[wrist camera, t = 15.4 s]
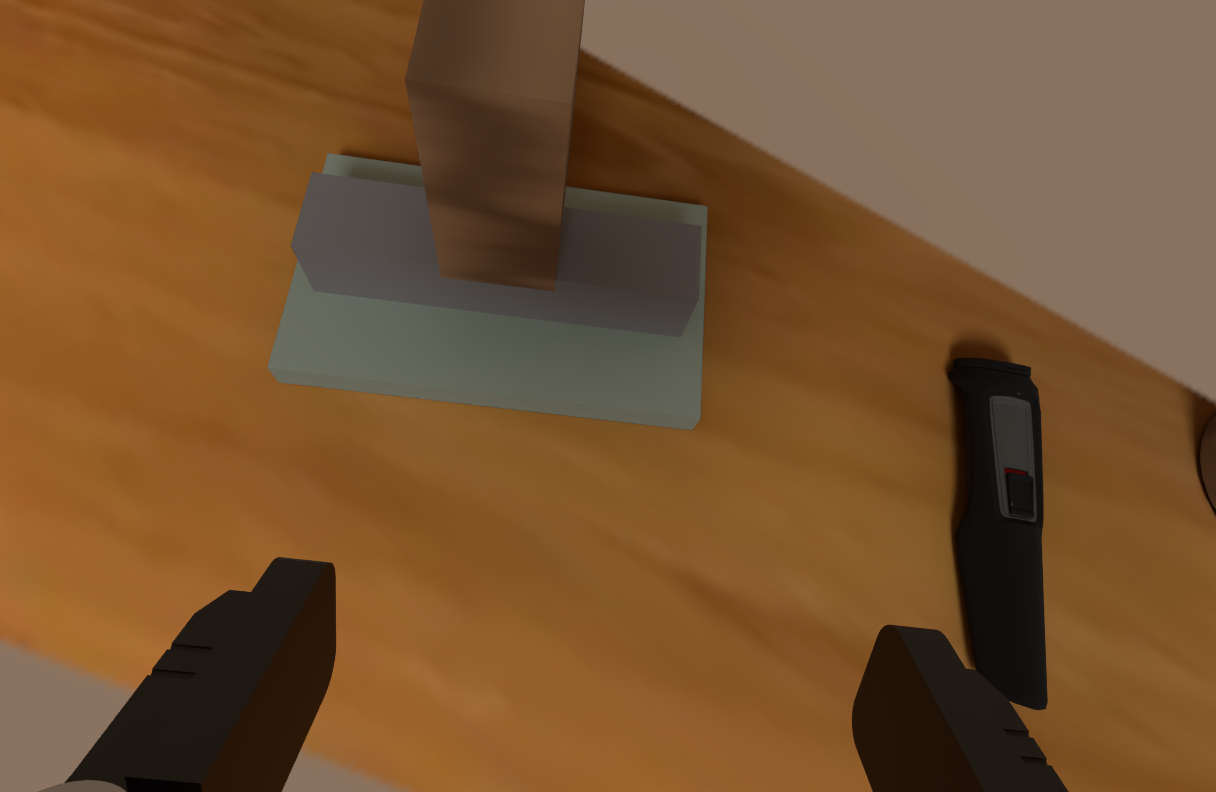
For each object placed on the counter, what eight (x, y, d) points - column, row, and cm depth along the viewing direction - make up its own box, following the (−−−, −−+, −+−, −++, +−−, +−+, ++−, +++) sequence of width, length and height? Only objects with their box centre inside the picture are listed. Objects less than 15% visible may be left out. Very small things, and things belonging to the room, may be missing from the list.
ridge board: (700, 224, 37) (726, 157, 32) (692, 430, 33) (721, 387, 28) (335, 174, 36) (308, 97, 31) (278, 382, 31) (237, 328, 27)
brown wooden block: (564, 199, 31) (585, -14, 21) (553, 291, 29) (571, 103, 20) (458, 185, 30) (433, -38, 21) (440, 277, 29) (405, 79, 19)
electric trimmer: (943, 698, 30) (989, 700, 27) (940, 360, 36) (978, 332, 33) (1031, 714, 30) (1086, 718, 27) (1014, 375, 36) (1058, 348, 33)
